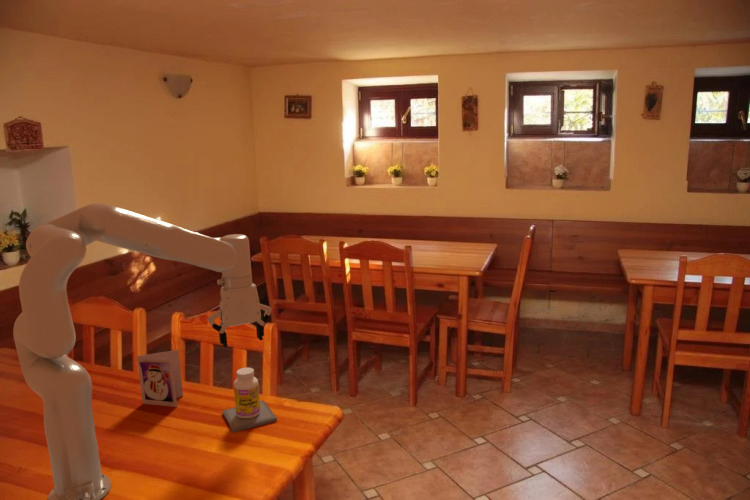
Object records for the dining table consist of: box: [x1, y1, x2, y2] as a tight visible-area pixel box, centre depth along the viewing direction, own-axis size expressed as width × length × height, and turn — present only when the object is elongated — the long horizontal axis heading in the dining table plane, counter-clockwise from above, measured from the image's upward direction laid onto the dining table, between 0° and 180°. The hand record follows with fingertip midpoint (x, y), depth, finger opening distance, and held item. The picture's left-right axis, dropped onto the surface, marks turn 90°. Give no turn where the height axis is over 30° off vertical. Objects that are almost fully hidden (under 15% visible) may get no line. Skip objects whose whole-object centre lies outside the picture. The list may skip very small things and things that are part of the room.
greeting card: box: [136, 349, 184, 408], centre depth 176 cm, size 11×7×15 cm, turn 76°
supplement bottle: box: [233, 367, 261, 419], centre depth 164 cm, size 7×7×13 cm
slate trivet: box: [222, 399, 278, 433], centre depth 166 cm, size 12×12×1 cm
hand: (242, 342), depth 161 cm, fingers open, 9 cm apart
